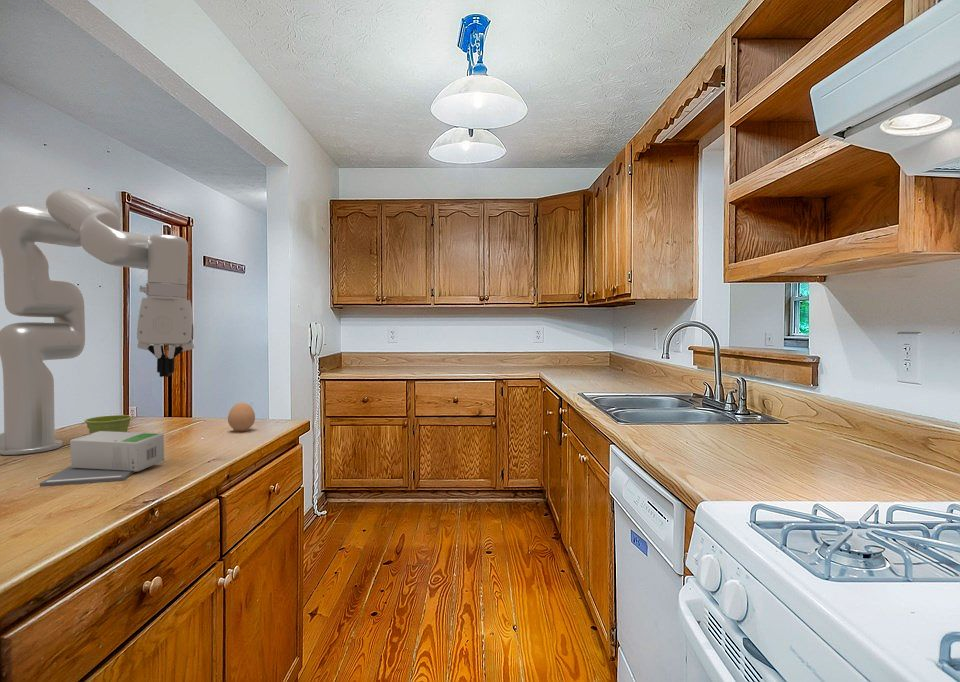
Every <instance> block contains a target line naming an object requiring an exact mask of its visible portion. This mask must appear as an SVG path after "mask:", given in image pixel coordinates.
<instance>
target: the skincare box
mask: <svg viewBox="0 0 960 682" xmlns="http://www.w3.org/2000/svg"><path fill="white" fill-rule="evenodd" d="M164 439H165V437H164V433H159V432H158V433H157V432H156V433H154V432H152V433H151V432H133V431H132V432H131V431H130V432H129V431H127V432H110V431H99V432H95V433H92V434H90V433H89V434H85V435H83V436H80V437H79V436H78V437H76V438H72V439H70V440H69V441H70V445H69V446H70V466H71V468H85V469H105V470H123V471H135V472H141V471H142V470H145V469H147V468H149V467H152V466H153V465H156V464H159V463H162V462H163V461H165V445H164Z"/></svg>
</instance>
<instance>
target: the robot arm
mask: <svg viewBox="0 0 960 682" xmlns="http://www.w3.org/2000/svg"><path fill="white" fill-rule="evenodd" d="M120 220H121V213H120V211H119V208H118V206H117V205H116V203H114V202H113V201H112V200H110V199H108V198H106V197H102V196H98V195H94V194H90V193H85V192H82V191H77V190H74V189H73V190H72V189H58V190H56V191H53V192H51V193H50V194H49V195H48V196H47V197H46V200H45V207H41V206H37V205H32V204H31V205H29V204H17V203H16V204H10V205H7V206H5V207H3V208H2V209H1V210H0V253H1V256H2V263H3V265H2V266H3V267H2V270H3V294H4V295H3V296H4V305H5V309H6V310H7V311H8V313H10V314H11V315H14V316H17V317H27V318H53V321H54V322H44V321H43V322H42V321H40V322H37V321H36V322H29V321H27V322H26V321H25V322H24V321H23V322H16V323H15V322H14V323H10V324H8V325H6V326H4V327H3V328H1V329H0V361H1V366H2V381H3V386H2V387H3V388H2V389H3V430H4V431H3V432H1V433H0V455H3V456H11V455H12V456H16V455H28V454H35V453H43V452H47V451H48V452H49V451H52V450H53V451H54V450H56V449H59V448H61V447H62V446H63V443H64V442H63V441H62V440H60V439H55V438H56V437H55V434H56V433H55V429H56V427H55V426H56V425H55V381H54V375H53V373H52V372H51V370H50V369H49V367H47V365H46V364H45V363H44V361H52V360H68V359H69V360H70V359H74V358H77V357H78V356H80V355H81V354H82V353H83V351H84V348H85V344H86V326H85V325H86V324H85V321H86V319H85V318H86V317H85V314H86V313H85V311H86V310H85V299H84V296H83V292H82V291H81V290H80V288H79V287H78V286H77V285H75V284H74V283H72V282H69V281H68V282H67V281H61V280H51V279H50V275H49V274H50V273H49V269H50V268H49V262H48V259H47V257H46V255H45V254H44V253H43V251H42V250H41V249H40V248H39V246H37V245H36V244H35V243H42V244H49V245H56V246H65V247H70V248H71V247H72V248H78V247H82V249H83V250H84V251H85V252H86V253H88V254H89V255H90V256H93V257H94V258H96V259H97V260H99V261H101V262H102V263H105V264H108V265H111V266H113V267H114V266H115V267H123V268H133V269H140V270H147V281H146V284H145V285H140V286H139V292H140V293H144V294H145V296H146V297H141V298H142V299H141V303H140V307H139V313H138V318H137V319H138V320H137V326H136V327H137V328H136V329H137V330H136V339H137V343H138V344H137V348H138V349H140V350H146V351H149V352H150V353H151V354H152V355H153V356H155V358H156V361H157V362H156V372H157V373H159V377H160V378H162V377H165V378H168V377H171V376H172V374H174V372H175V360H176V359H175V358H176V357H177V356H179V355H180V353H182V352H185V351H191V350H193V349H195V346H194V341H193V340H194V335H195V333H194V330H195V329H194V317H193V309H192V308H193V307H192V302H191V299H188V275H189V274H188V273H189V272H188V270H189V267H188V266H189V243H188V241H187V240H186V238H184V237H181V236H178V235H172V234H171V235H170V234H152V235H151V236H150V235H144V234H140V233H134V232H129V231H122V230H121V228H122V227H121V221H120ZM164 345H169V346H168V351H167V355H166V354H165V349H164Z"/></svg>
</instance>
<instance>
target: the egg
mask: <svg viewBox="0 0 960 682" xmlns="http://www.w3.org/2000/svg"><path fill="white" fill-rule="evenodd" d="M255 421H256V413H255V411H254V409H253V407H252V406H251V405H250V404H249V403H246V402H238V403H235V404H234V405H233V406H232V407H231V408H230V411H229V412H228V414H227V423H228V425H229V426H230V428H231V429H232V430H234V431H235V432H245V431H247V430H250V428H252V427H253V425H254V423H255Z"/></svg>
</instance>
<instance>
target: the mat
mask: <svg viewBox="0 0 960 682" xmlns="http://www.w3.org/2000/svg"><path fill="white" fill-rule="evenodd" d="M135 472H136V471H123V470H105V469H85V468H71V465H69V466H67V467H65V468H64V469H62V470H60V471H59V472H57V473H55V474H53V475H52V476H49V478H46V479H45V480H43V481H42V482H39V487H49V486H50V487H51V486H52V487H53V486H62V485H64V484H67V485H81V484H93V483H106V482H107V483H108V481H109V482H122V480H123V481H125V480H127V479H128V478H129V477H130V476H131V475H133V474H134V473H135ZM80 483H81V484H80Z"/></svg>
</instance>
